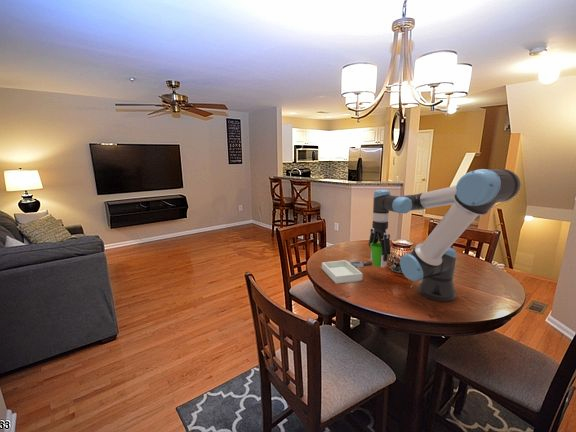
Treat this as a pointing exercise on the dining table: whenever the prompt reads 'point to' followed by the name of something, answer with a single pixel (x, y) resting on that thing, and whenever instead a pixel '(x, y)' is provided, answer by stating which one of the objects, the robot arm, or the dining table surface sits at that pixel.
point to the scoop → (359, 264)
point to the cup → (376, 254)
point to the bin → (341, 272)
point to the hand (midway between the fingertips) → (378, 263)
